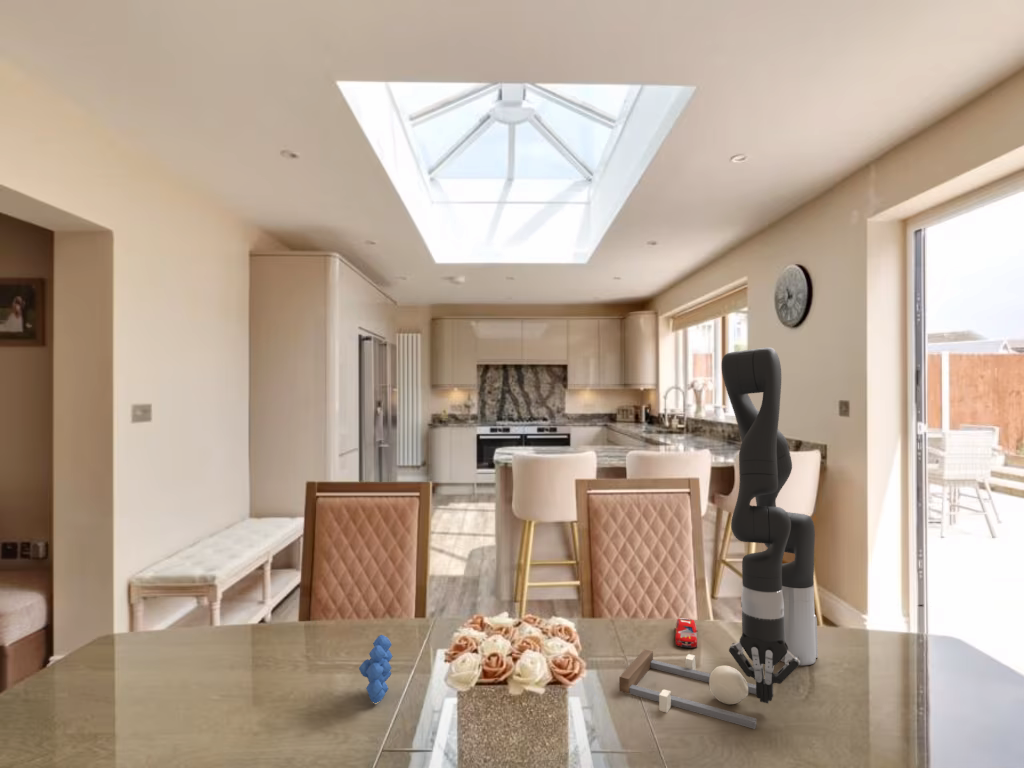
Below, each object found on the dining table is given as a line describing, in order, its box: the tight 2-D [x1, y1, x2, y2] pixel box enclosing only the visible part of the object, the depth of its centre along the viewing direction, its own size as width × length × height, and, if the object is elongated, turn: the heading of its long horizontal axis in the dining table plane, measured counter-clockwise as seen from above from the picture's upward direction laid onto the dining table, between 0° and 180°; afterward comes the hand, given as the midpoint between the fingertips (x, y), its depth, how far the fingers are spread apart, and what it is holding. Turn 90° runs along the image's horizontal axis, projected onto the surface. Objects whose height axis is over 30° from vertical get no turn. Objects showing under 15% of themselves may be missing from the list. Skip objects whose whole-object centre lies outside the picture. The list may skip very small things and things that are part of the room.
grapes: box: [358, 634, 394, 704], centre depth 116 cm, size 12×7×12 cm, turn 179°
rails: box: [628, 659, 757, 730], centre depth 116 cm, size 24×14×1 cm, turn 57°
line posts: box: [658, 653, 697, 714], centre depth 118 cm, size 2×20×3 cm, turn 147°
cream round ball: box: [708, 665, 749, 705], centre depth 113 cm, size 7×7×7 cm
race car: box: [674, 617, 698, 649], centre depth 143 cm, size 13×5×4 cm, turn 162°
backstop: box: [619, 648, 654, 695], centre depth 123 cm, size 2×15×3 cm, turn 147°
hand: (764, 700), depth 109 cm, fingers closed
